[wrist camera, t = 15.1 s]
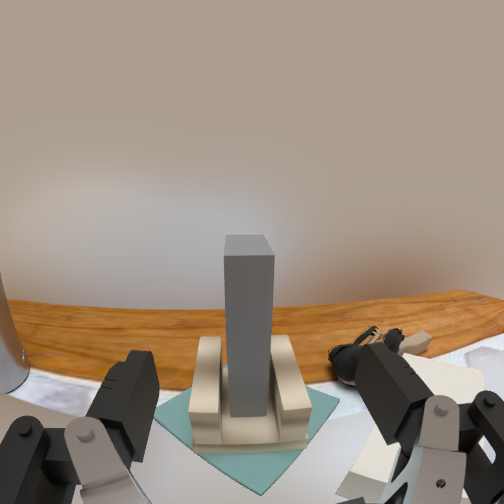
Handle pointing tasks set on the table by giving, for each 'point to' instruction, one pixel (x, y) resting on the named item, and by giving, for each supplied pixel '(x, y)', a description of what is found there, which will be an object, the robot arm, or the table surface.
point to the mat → (244, 465)
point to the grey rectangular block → (248, 322)
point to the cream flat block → (382, 456)
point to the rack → (248, 428)
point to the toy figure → (349, 354)
